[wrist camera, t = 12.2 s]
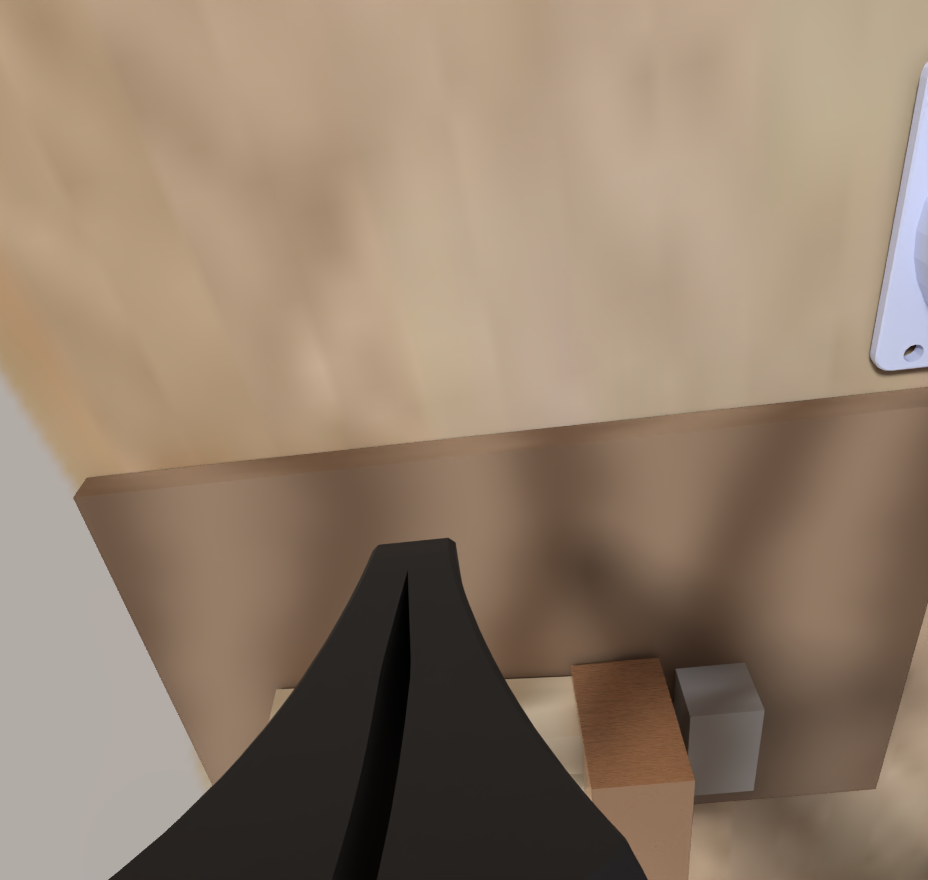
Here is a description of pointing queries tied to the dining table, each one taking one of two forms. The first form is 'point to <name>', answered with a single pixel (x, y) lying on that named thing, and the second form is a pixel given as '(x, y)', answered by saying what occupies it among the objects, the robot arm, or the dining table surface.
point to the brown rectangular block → (637, 761)
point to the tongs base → (570, 571)
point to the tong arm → (534, 715)
